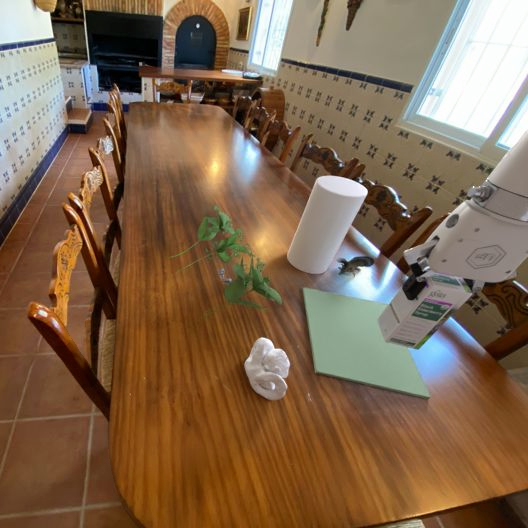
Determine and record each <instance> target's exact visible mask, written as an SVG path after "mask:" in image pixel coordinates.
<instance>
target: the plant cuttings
mask: <svg viewBox="0 0 528 528" xmlns="http://www.w3.org/2000/svg"><path fill="white" fill-rule="evenodd" d="M215 210H216V211H217V217H216V216H209V217H208V216H204V217H203V219H202V222H201V223H200V225H199V227H198V230H197V239H198V241H197V242H195V243H194V244H193V245H191V246H190V247H189V248H187V249H186V250H184V251H182V252H181V253H178V254H176V255H169V256H168V258H175V257H178V256H181V255H183V254H185V253H186V252H188V251H189V250H191V249H192V248H193V247H194V246H196V245H197V244H198V243H199V242H201V241H211V242H210V243H209V244H208V245H207V248H206V250H205V252H206V253H208V254H207V255H206V256H203V257H201V258H199V259H197V260H195V261H194V262H191V263H190V264H188V265H186V266H184V267H183V268H181V269H179V270H177V271H176V272H175V273H174V274H178V273H179V272H181V271H183V270H184V269H187V268H188V267H189V266H191V265H193V264H195V263H197V262H199V261H201V260H202V259H204V258H205V257H207V259H208V260H216V259H218V258H219V260H220V262H222V263H223V264H228V263H230V262H232V261H235V258H237V259H238V260H240V264H239V263H238V262H235V264H233V273H234V274H235V276H236V279H234V280H233V279H232V278H231V277H230V278H226V277H225V275H224V274H225V272H226V271H225V269H224V268H219V269H218V268H216V272H217V273H218V275H219V277H220V279H221V280H222V283H223V285H226V286H225V288H224V290H223V296H224V298H225V301H224V302H222V303H220V305H222V304H223V303H225V302H226V304H224V305H222V306H220V307H219V308H216V309H215V310H212V309H214V307H212V308H210V309H209V310H207V311H205V313H208V312H209V311H211V310H212V311H211V312H210V313H208V314H206V315H204V316H203V317H201V318H199V319H198V320H197V321H195V322H193V323H191V324H189V326H192V325H194V324H195V323H197V322H198V321H200V320H203V319H204V318H206V317H208V316H210V315H211V314H214V313H215V312H217V311H218V310H220V309H222V308H224V307H225V306H227V305H230V304H236V305H240V306H241V305H242V306H247V307H251V308H256V309H260V310H263V311H266V312H269V309H267V308H265V307H263V306H262V305H259V304H257V303H255V302H253V301H250V300H246V299H242V298H241V297H243V296H245V295H247V294H249V293H251V292H253V291H254V292H256V293H257V294H259V295H260V296H262V297H264V298H267V299H269V300H271V301H272V302H273V301H276V302H277V303H278V304H279V305H280V307H282V306H283V301H282V297H281V296H280V294H279V293H278V292H277V291H276V290H275V289H274V288H273V287H270V286H268V285H269V284H270V282H271V280H272V278H270V277H267V276H265V277H263V274H262V272H263V271H264V270H265V268H264V267H265V266H266V265H267V262H264V261H261V258H260V257H259V256H258V257H257V258H256V263H255V262H254V258H255V257H256V256H255V255H254V254H253V252H252V248H251V247H250V244H249V243H248V242H247V241H246V242H245V243H246V245H247V246H246V245H245V244H241V243H239V242H237V241H238V238H239V241H241V242H242V243H243V242H244V241H245V240H244V237H245V235H244V233H243V232H242V230H243V228H238V227H236V229H235V228H234V227H233V225H234V223H232V221H233V219H230V218H229V216H228V214H226V213H224V212H222V211H221V210H220V208H219V206H218V205H214V206H213V211H215ZM209 223H210V224H211V226H210V227H208V226H209ZM221 231H222V235H226V233H227V234H230V235H229V236H228V237H227V238H224V239H222V240H220V242H219V243H218V241H217V240H213V239H214V238H215V237H216V235H217V234H218V233H220V232H221ZM212 243H213V244H214V248H213V247H212V248H211V250H209V251H208V247H209V246H210V245H211V244H212ZM227 249H230V250H231V251H230V252H231V257H230V256H229V254H228V253H227V252H226V250H227ZM211 251H212V252H211ZM215 252H216V253H217V256H216V257H215V255H216V253H215ZM241 253H242V255H241ZM244 254H247V255H248V257H249V258H250V267H248V264H247V263H244ZM210 255H212V257H209V256H210ZM254 263H255V265H256V267H255V265H254ZM244 267H246V268H244ZM247 270H249V271H248V273H247Z"/></svg>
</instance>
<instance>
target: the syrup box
mask: <svg viewBox="0 0 528 528" xmlns="http://www.w3.org/2000/svg"><path fill="white" fill-rule="evenodd" d="M428 268H429V266H427V267H426V268H424V269H423V271H425V270H426V269H428ZM425 282H426V286H425V287H424V289H423V290H422V291H421V292H420V293H419V294H418V296H417V297H416V298H415V299H414V300H412V301H411V300H408V299H407V297H406V295H405V294H404V292H403V290H402V286H401V287H400V288H399V290H398V291H397V292H396V294H395V295H394V296H393V297H392V299H391V301H389V303H387V304H388V306H387V307H386V309H385V310H384V311H383V313H382V314H381V315H380V317H379V318H378V319H377V321H378V324H379V327H380V330H381V332H382V335H383V338H384V340H385V342H386V343H392V344H396V345H400V346H405V347H408V349H413V350H420V349H421V348H423V346H424V345H425V344H426V343H427V342H428V341H429V339H431V337H433V335H435V333H436V332H437V331H439V329H440V328H441V327H442V326H443V325H444V324H445V323H446V322H447V321H448V320H449V319H451V317H452V316H453V315H454V314H455V313H456V312H457V311H458V310H459V309H460V308H461V307H462V306H463V305H464V304H465V303H466V302H467V300H469V299H470V298H471V296H473V292H472V291H471V290H470V288H469V287H468V285H467V284H466V282H465V281H464V280H463V278H461V277H455V276H450V275H445V274H440V273H436V274H435V275H433V276H432V277H430V278H429V279H427V280H425Z"/></svg>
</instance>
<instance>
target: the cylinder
mask: <svg viewBox="0 0 528 528" xmlns="http://www.w3.org/2000/svg"><path fill="white" fill-rule="evenodd" d="M367 196H368V189H367V188H366V187H365V186H364V185H363V184H361V183H359V182H357V181H356V180H352V179H350V178H346V177H342V176H337V175H321V176H319V177H317V178H316V179H315V182H314V185H313V187H312V190H311V192H310V195H309V197H308V200H307V203H306V205H305V208H304V210H303V213H302V215H301V218H300V221H299V223H298V226H297V228H296V231H295V233H294V235H293V239H292V241H291V243H290V246H289V249H288V251H287V254H286V259H287V261H288V262H289V264H290V265H291V266H292V267H294V268H296V269H297V270H299V271H300V272H303V273H307V274H311V275H321V274H324V273H326V272H327V271H328V270H329V268H330V266H331V264H332V262H333V261H334V259H335V256H337V255H336V254H337V253H338V251H339V249H340V247H341V245H342V243H343V242H344V239H345V237H346V235H347V234H348V232H349V230H350V228H351V226H352V224H353V222H354V221H355V219H356V216H357V214H358V212H359V211H360V209H361V206H362V205H363V203H364V201H365V200H366V197H367Z"/></svg>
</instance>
